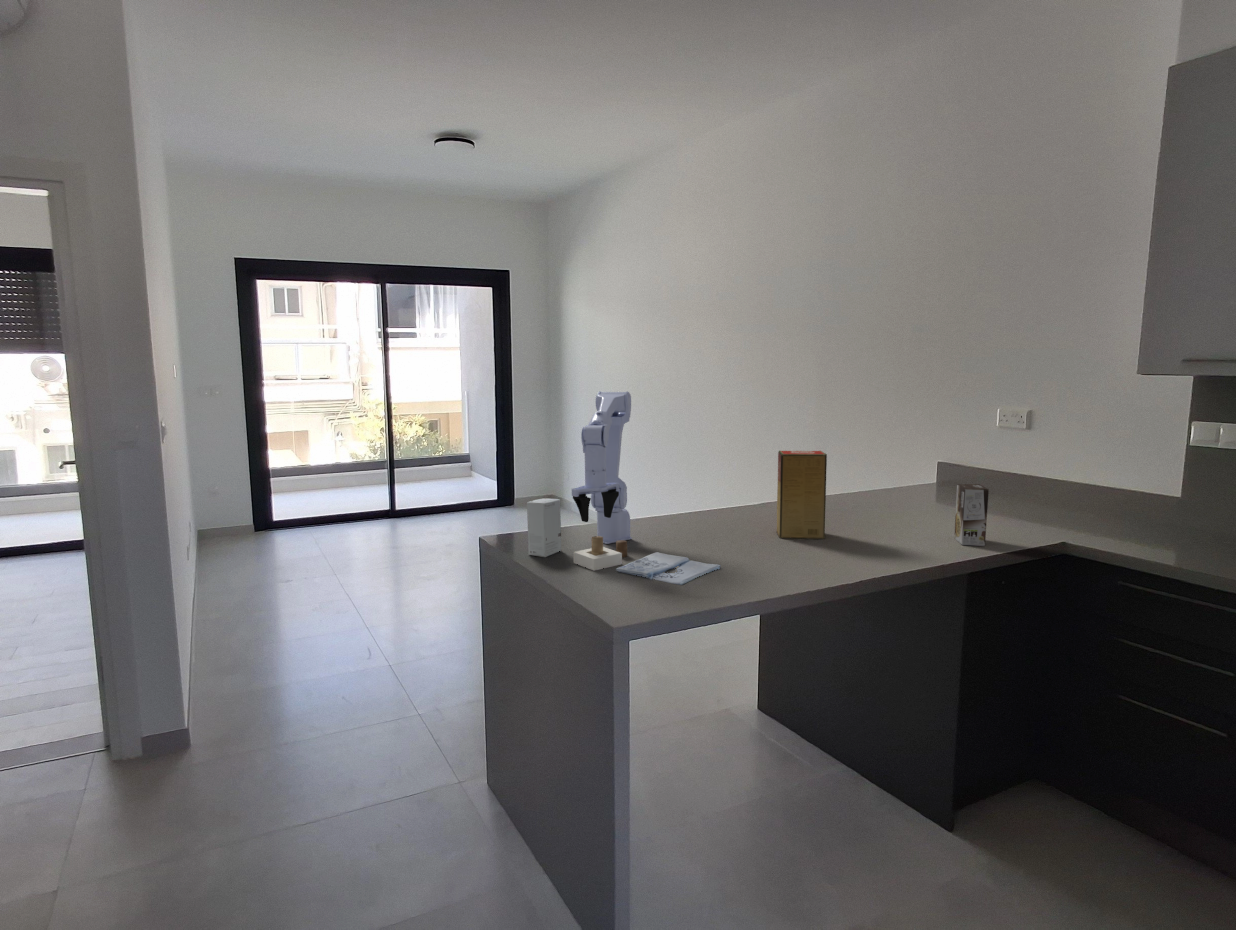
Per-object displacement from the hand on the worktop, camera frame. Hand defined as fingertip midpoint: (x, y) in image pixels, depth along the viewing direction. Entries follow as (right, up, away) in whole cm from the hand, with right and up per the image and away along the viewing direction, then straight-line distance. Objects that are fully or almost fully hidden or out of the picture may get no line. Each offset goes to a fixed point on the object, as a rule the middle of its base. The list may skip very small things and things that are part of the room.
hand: (596, 519), depth 200 cm
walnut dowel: (+7, -10, 0) cm, 12 cm away
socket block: (+1, -11, -8) cm, 13 cm away
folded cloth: (+19, -13, -14) cm, 26 cm away
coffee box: (+106, -7, +10) cm, 107 cm away
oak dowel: (0, -11, -8) cm, 13 cm away
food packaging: (+60, -6, +20) cm, 64 cm away
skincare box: (-14, -10, +4) cm, 18 cm away
